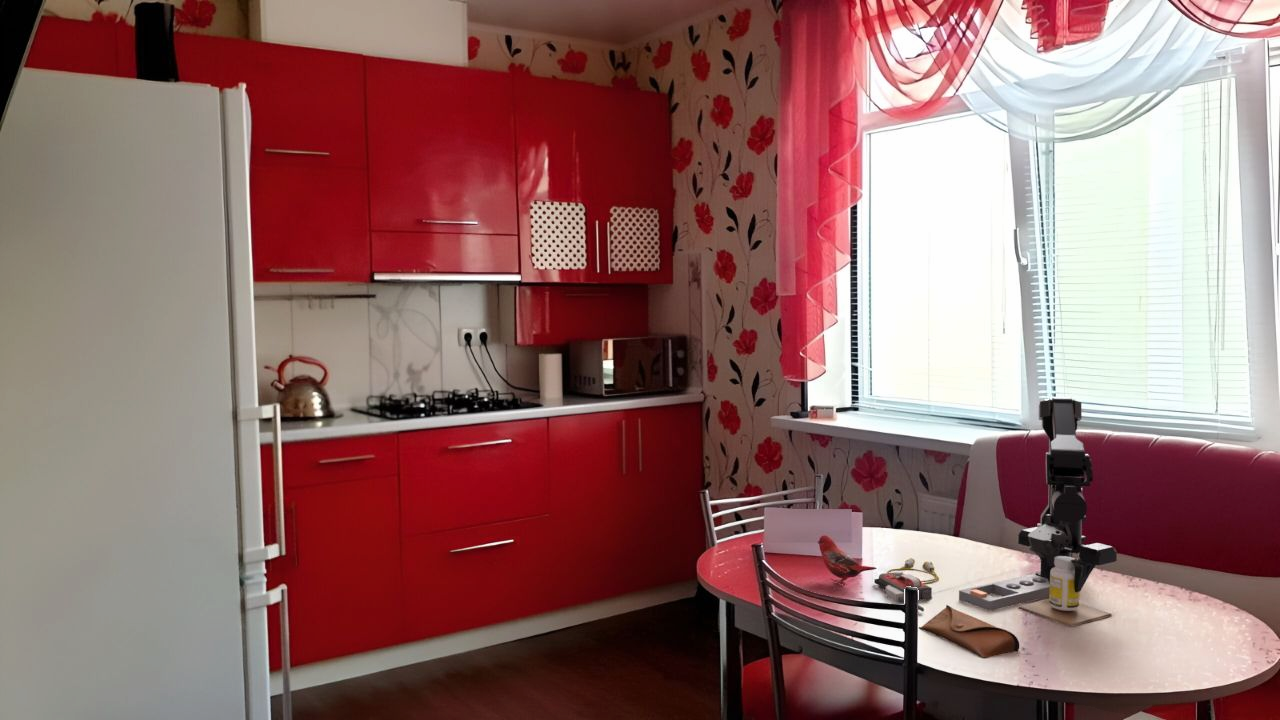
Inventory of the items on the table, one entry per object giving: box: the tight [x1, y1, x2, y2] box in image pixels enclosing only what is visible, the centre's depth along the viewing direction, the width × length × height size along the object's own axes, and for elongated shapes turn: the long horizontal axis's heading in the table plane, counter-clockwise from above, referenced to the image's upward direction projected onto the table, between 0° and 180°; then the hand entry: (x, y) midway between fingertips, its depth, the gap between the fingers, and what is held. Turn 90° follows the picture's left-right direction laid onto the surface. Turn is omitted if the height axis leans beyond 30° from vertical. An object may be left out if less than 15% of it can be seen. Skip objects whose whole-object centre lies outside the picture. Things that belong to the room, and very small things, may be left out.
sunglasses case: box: [918, 604, 1021, 659], centre depth 177 cm, size 18×7×7 cm, turn 26°
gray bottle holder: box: [958, 573, 1050, 612], centre depth 200 cm, size 22×8×3 cm, turn 118°
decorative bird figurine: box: [817, 534, 878, 586], centre depth 208 cm, size 3×18×10 cm, turn 33°
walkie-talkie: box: [873, 571, 933, 612], centre depth 201 cm, size 9×4×20 cm
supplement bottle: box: [1048, 556, 1080, 611], centre depth 190 cm, size 5×5×10 cm
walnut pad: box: [1018, 598, 1112, 628], centre depth 190 cm, size 12×12×1 cm
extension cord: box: [886, 558, 940, 585], centre depth 216 cm, size 12×16×2 cm
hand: (1064, 587), depth 190 cm, fingers open, 6 cm apart
